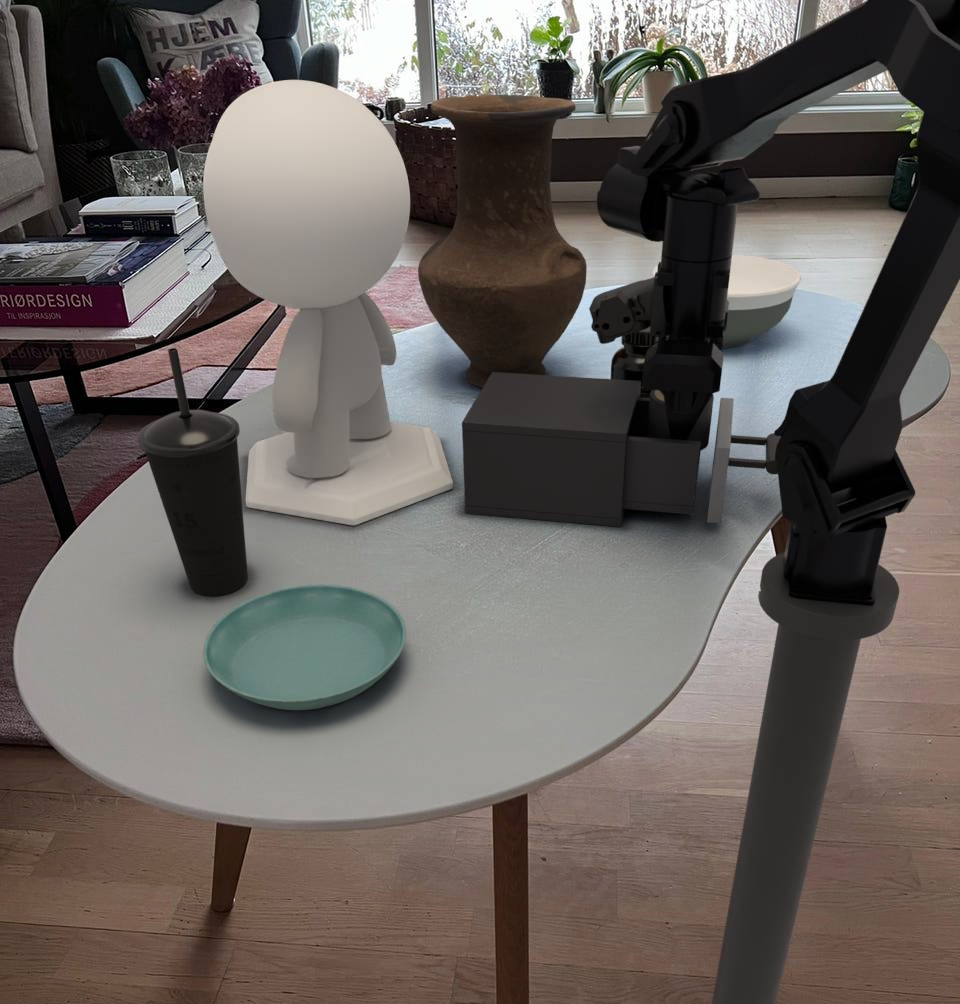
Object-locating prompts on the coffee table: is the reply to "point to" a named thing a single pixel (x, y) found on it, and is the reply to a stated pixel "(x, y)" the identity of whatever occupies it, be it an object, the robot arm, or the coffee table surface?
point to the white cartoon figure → (321, 296)
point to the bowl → (756, 297)
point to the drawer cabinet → (548, 448)
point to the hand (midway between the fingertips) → (679, 431)
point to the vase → (503, 239)
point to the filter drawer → (683, 465)
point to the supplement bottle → (632, 358)
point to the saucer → (305, 646)
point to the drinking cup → (200, 490)
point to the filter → (660, 423)
